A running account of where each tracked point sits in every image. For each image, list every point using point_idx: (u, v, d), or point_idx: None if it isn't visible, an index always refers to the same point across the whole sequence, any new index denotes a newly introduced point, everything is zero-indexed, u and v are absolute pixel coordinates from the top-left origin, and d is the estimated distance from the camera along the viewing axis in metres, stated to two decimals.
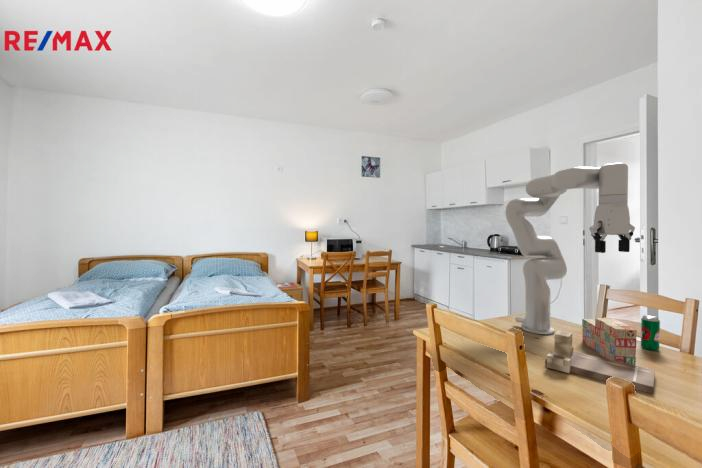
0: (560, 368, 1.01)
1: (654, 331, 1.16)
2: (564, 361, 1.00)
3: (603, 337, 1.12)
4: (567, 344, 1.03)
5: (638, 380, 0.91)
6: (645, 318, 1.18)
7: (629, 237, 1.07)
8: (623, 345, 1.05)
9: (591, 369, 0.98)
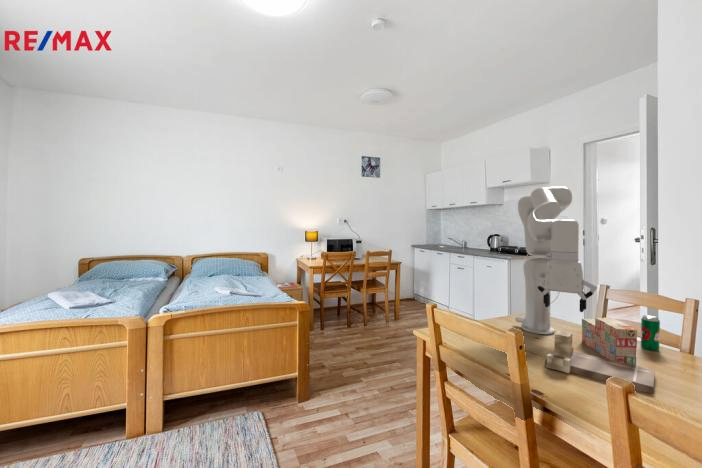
0: (560, 368, 1.01)
1: (654, 331, 1.16)
2: (564, 361, 1.00)
3: (604, 337, 1.12)
4: (567, 344, 1.03)
5: (638, 380, 0.91)
6: (645, 318, 1.18)
7: None
8: (624, 345, 1.05)
9: (591, 369, 0.98)
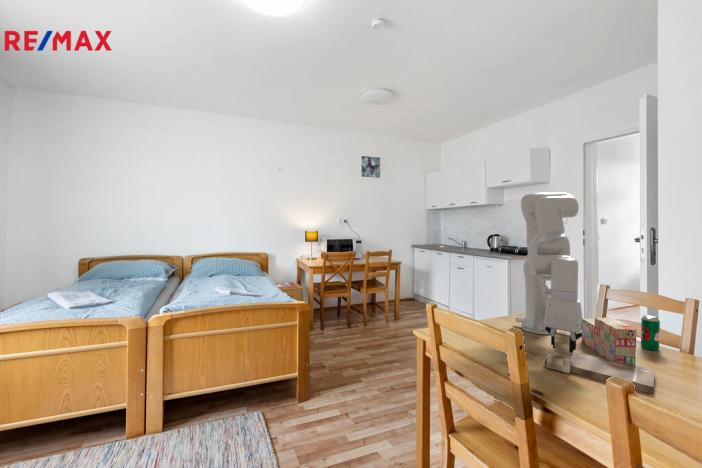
0: (560, 368, 1.01)
1: (654, 331, 1.16)
2: (564, 361, 1.00)
3: (603, 336, 1.12)
4: (567, 344, 1.03)
5: (638, 380, 0.91)
6: (645, 318, 1.18)
7: None
8: (623, 345, 1.06)
9: (591, 369, 0.98)
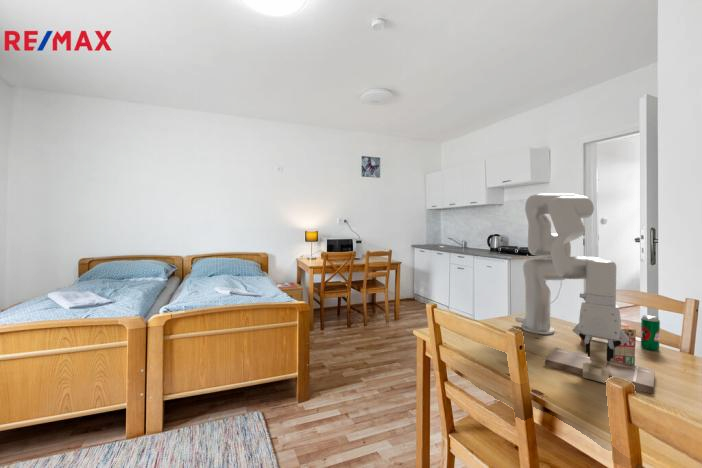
0: (598, 378, 0.94)
1: (654, 331, 1.16)
2: (603, 371, 0.93)
3: None
4: (604, 352, 0.97)
5: (638, 380, 0.91)
6: (645, 318, 1.18)
7: None
8: (623, 345, 1.06)
9: None
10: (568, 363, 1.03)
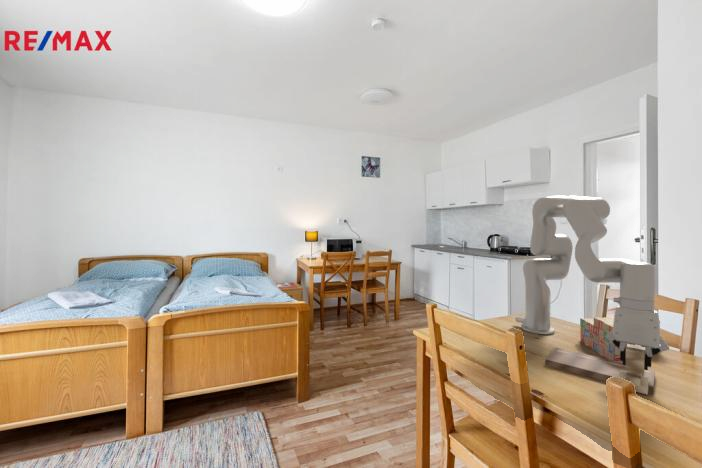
0: (636, 388, 0.88)
1: None
2: (642, 381, 0.87)
3: (602, 336, 1.13)
4: (642, 360, 0.91)
5: None
6: None
7: None
8: None
9: (591, 369, 0.98)
10: (568, 363, 1.03)
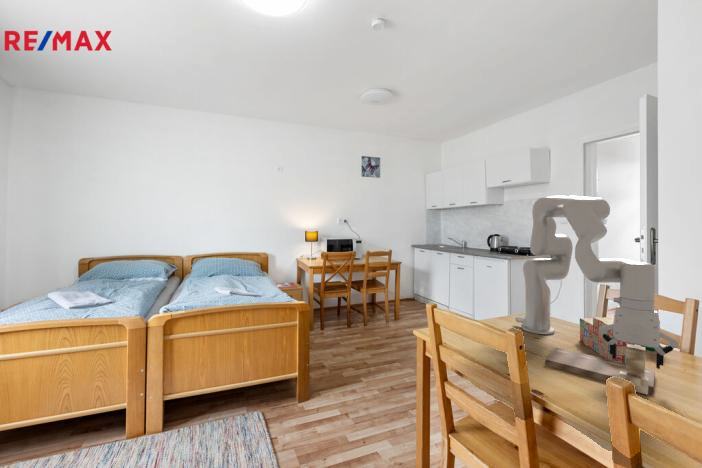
0: (636, 388, 0.88)
1: None
2: (642, 381, 0.87)
3: (602, 336, 1.13)
4: (642, 360, 0.91)
5: None
6: None
7: None
8: (622, 344, 1.06)
9: (591, 369, 0.98)
10: (568, 363, 1.03)
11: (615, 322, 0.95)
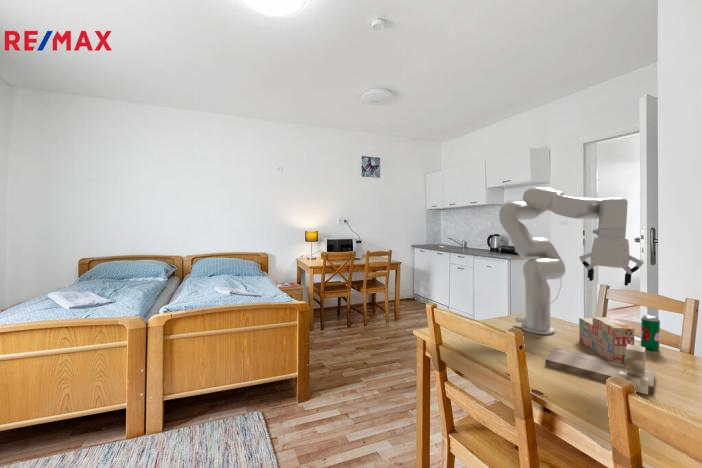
0: (636, 388, 0.88)
1: (654, 331, 1.16)
2: (642, 381, 0.87)
3: (601, 336, 1.13)
4: (642, 360, 0.91)
5: None
6: (645, 318, 1.18)
7: None
8: (621, 344, 1.07)
9: (591, 369, 0.98)
10: (568, 363, 1.03)
11: (593, 249, 1.12)
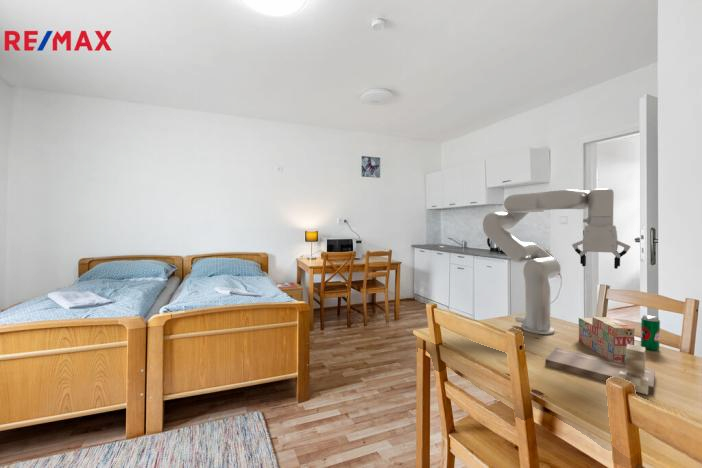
0: (636, 388, 0.88)
1: (654, 331, 1.16)
2: (642, 381, 0.87)
3: (601, 336, 1.13)
4: (642, 360, 0.91)
5: None
6: (645, 318, 1.18)
7: None
8: (622, 344, 1.07)
9: (591, 369, 0.98)
10: (568, 363, 1.03)
11: (584, 237, 1.22)
